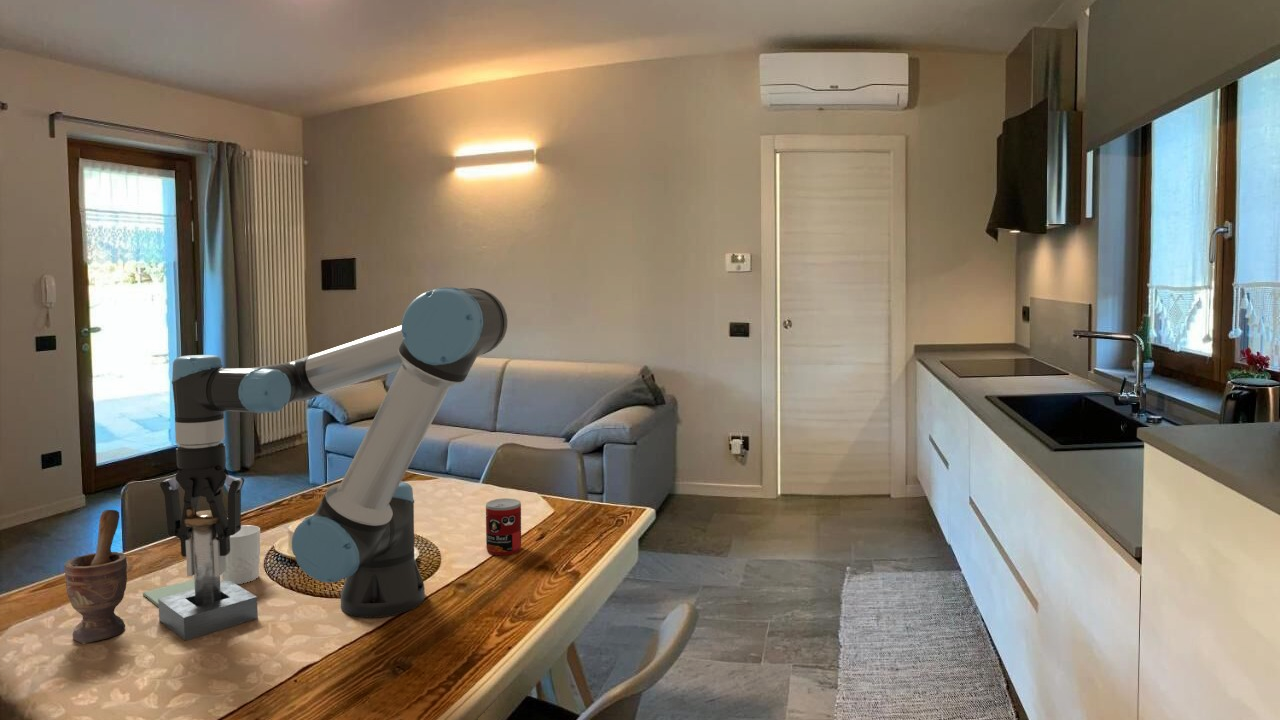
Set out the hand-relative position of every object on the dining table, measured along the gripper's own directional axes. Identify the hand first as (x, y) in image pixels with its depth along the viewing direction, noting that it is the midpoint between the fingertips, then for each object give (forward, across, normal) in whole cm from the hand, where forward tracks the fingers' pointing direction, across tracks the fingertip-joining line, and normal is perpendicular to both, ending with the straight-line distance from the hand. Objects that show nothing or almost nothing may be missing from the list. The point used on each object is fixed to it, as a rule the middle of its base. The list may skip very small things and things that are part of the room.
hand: (206, 573), depth 139 cm
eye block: (+9, 0, 0) cm, 9 cm away
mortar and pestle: (+9, +17, +3) cm, 19 cm away
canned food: (+9, -49, -35) cm, 60 cm away
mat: (+9, +11, -12) cm, 18 cm away
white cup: (+9, +3, -20) cm, 22 cm away
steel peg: (+6, 0, 0) cm, 6 cm away
